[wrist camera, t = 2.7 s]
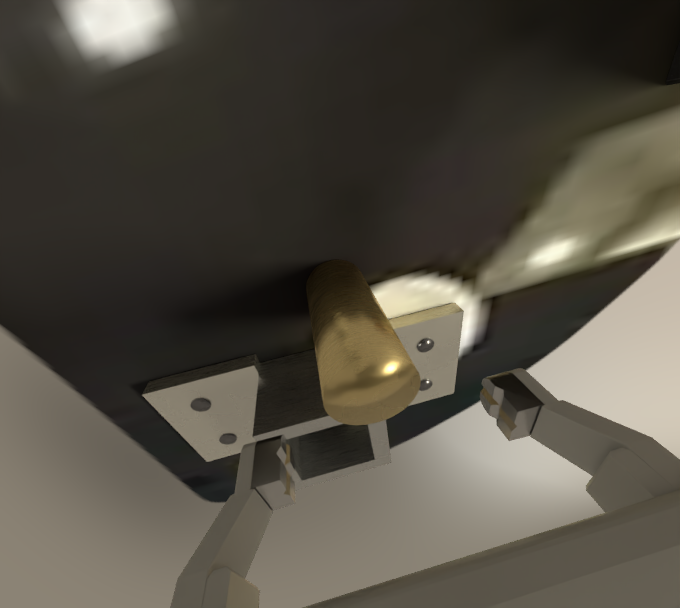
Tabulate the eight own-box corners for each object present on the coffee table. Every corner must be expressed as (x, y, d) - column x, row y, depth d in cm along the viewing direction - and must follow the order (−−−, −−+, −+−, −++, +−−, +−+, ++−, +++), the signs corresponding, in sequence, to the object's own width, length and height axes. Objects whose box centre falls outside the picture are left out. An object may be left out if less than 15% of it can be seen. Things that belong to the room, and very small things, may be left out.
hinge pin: (299, 267, 17) (312, 374, 9) (359, 253, 17) (420, 345, 9) (313, 316, 19) (333, 434, 11) (366, 303, 19) (420, 410, 12)
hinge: (149, 381, 19) (101, 466, 14) (454, 302, 20) (509, 355, 16) (210, 448, 25) (191, 526, 20) (447, 383, 26) (485, 441, 21)
